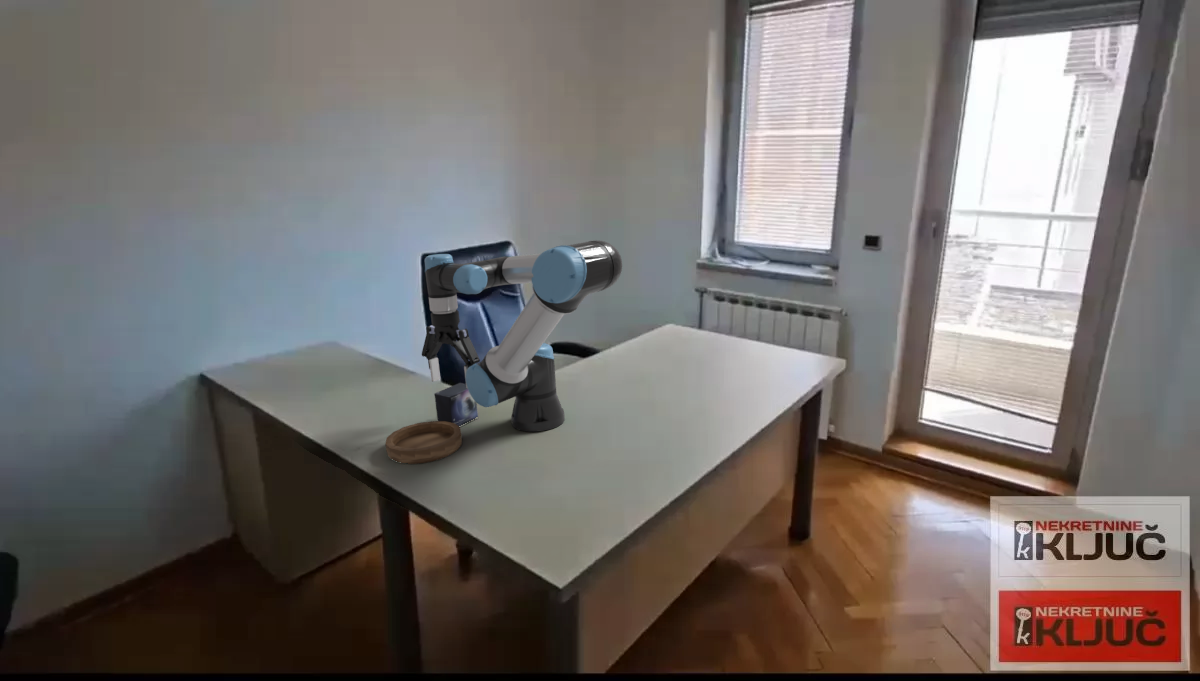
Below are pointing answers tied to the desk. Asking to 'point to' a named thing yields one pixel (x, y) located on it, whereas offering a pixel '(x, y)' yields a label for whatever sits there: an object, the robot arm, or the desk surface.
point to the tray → (424, 442)
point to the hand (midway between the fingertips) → (453, 383)
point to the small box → (455, 405)
